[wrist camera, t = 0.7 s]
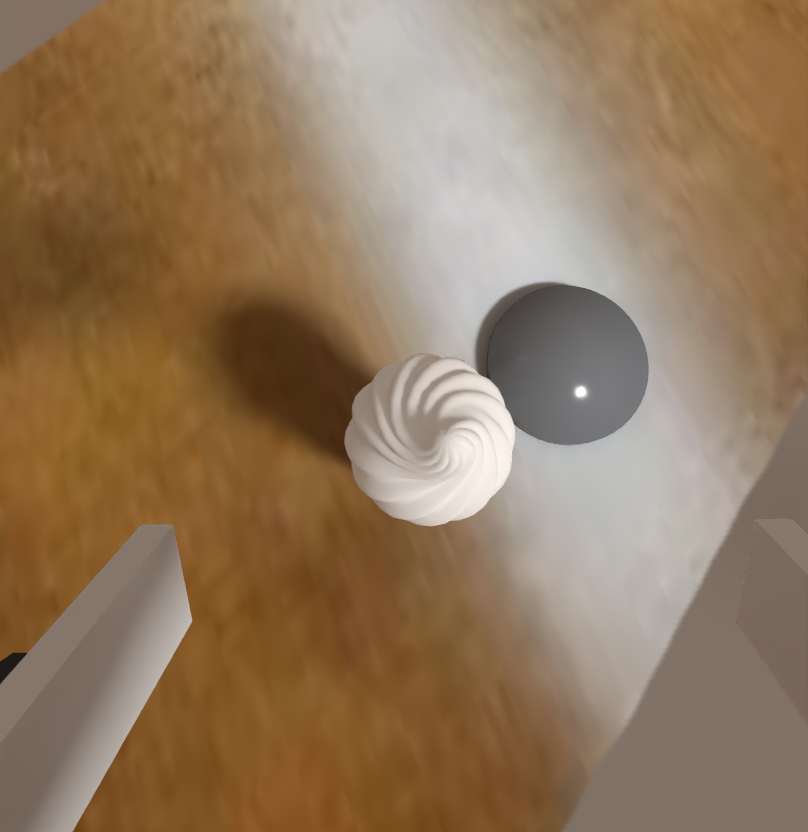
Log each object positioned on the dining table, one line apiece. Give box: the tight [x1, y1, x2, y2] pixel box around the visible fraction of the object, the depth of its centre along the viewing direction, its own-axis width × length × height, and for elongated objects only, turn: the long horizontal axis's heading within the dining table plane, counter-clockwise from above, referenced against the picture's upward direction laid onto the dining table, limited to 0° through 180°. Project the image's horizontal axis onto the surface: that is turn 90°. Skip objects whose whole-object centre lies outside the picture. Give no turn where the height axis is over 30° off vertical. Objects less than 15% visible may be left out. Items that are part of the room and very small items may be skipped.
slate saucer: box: [487, 286, 648, 445], centre depth 42 cm, size 11×11×1 cm
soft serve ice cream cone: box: [344, 353, 515, 526], centre depth 33 cm, size 8×8×16 cm
